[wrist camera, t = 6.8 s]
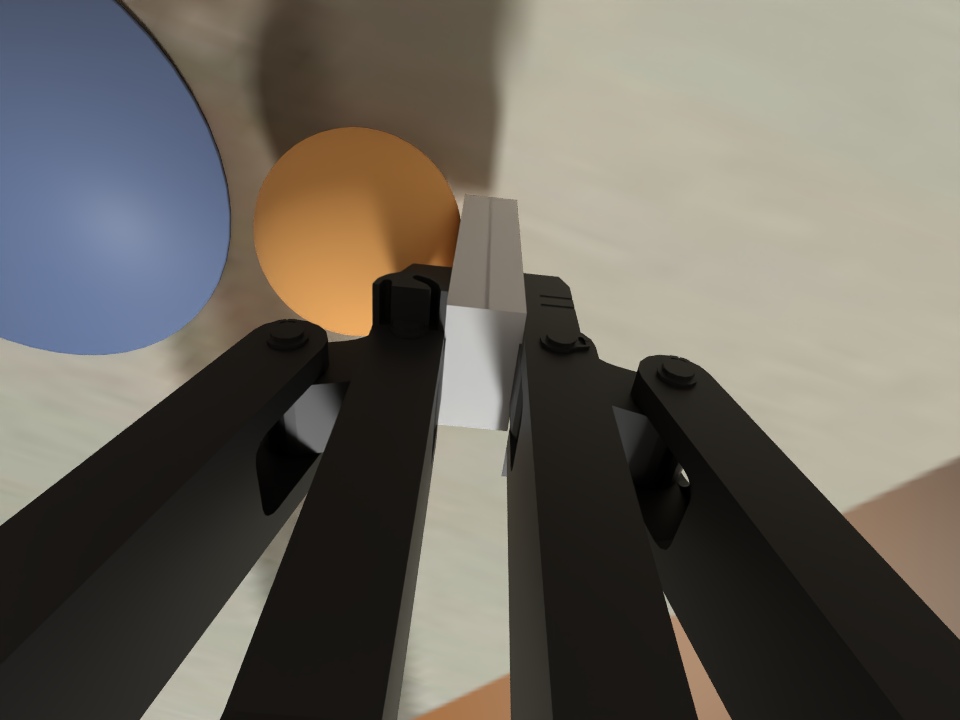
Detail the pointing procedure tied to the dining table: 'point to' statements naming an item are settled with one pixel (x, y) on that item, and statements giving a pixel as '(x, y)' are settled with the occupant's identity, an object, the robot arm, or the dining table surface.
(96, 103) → the disc
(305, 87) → the dining table surface
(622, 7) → the dining table surface
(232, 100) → the dining table surface
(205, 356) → the dining table surface
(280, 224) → the ball
